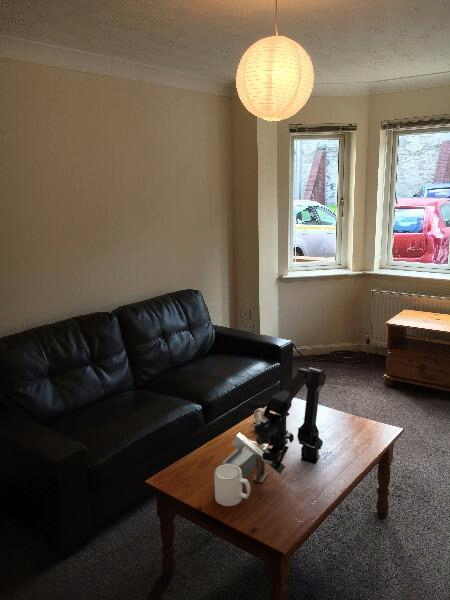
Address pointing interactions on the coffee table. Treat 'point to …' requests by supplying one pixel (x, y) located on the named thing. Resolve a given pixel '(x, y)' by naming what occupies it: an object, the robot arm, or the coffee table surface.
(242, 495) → the mug
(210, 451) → the coffee table surface
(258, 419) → the watch
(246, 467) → the chute
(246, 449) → the cream square tray
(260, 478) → the lever stand
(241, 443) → the lever
